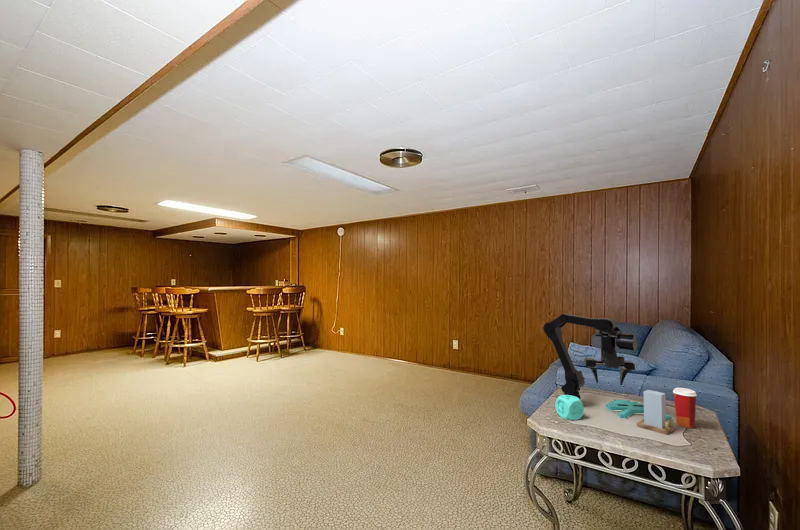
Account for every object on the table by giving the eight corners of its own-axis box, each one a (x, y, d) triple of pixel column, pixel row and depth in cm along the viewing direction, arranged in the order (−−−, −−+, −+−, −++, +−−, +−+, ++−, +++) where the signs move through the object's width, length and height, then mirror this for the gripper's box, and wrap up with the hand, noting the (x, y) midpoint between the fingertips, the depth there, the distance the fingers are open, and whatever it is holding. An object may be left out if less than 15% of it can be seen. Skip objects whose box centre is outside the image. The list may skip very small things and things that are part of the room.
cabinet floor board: (636, 426, 142) (636, 415, 143) (644, 421, 147) (644, 411, 147) (667, 435, 134) (667, 423, 134) (674, 429, 139) (674, 418, 139)
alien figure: (671, 422, 149) (644, 405, 168) (671, 416, 149) (643, 400, 168) (620, 419, 150) (599, 403, 170) (620, 414, 151) (599, 398, 170)
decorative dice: (584, 419, 149) (584, 399, 150) (568, 421, 147) (568, 401, 147) (570, 412, 157) (569, 394, 157) (555, 414, 155) (554, 395, 155)
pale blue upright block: (644, 423, 142) (643, 391, 143) (648, 421, 145) (647, 389, 145) (662, 428, 137) (661, 395, 138) (666, 425, 140) (665, 393, 140)
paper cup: (691, 422, 146) (690, 388, 147) (702, 430, 139) (701, 393, 140) (669, 421, 148) (668, 386, 149) (679, 428, 141) (678, 392, 141)
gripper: (588, 349, 152) (588, 386, 151) (638, 352, 146) (639, 391, 145) (583, 345, 163) (583, 380, 162) (630, 347, 157) (631, 383, 156)
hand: (608, 383), depth 156 cm, fingers open, 9 cm apart
